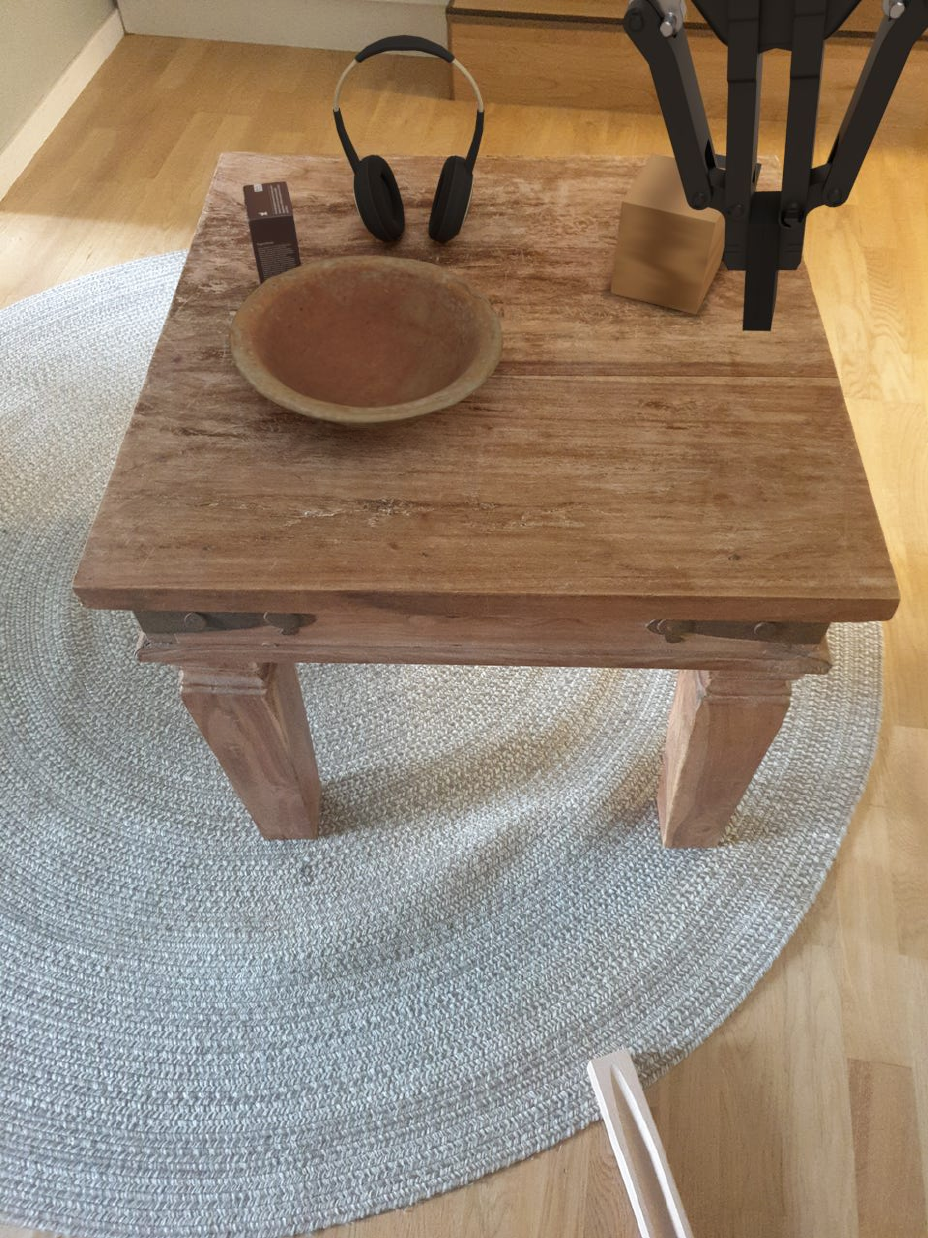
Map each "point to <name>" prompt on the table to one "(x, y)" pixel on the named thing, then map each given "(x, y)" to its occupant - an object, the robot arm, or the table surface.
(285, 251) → the box
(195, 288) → the table surface
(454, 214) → the headphones
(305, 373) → the bowl
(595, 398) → the table surface
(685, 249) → the push block
